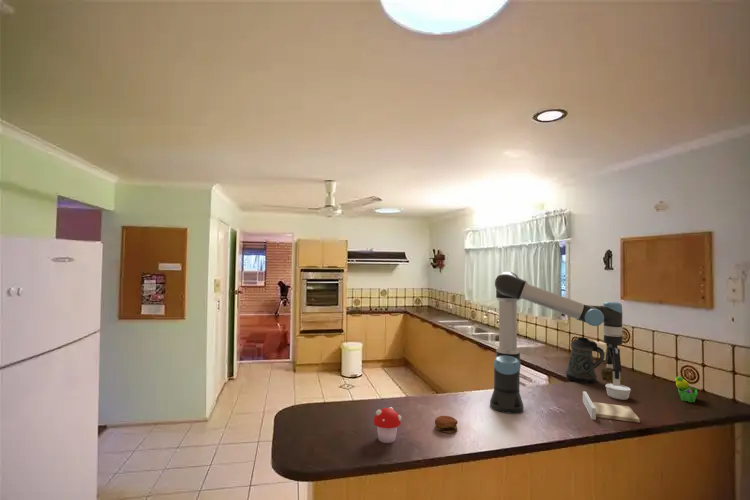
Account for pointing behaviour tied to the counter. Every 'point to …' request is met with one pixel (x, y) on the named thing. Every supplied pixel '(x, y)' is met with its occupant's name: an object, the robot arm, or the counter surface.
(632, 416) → the cutting board
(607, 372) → the potato
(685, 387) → the fruit basket
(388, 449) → the counter surface
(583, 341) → the beer stein
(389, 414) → the mushroom
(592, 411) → the divider wall
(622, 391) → the ramekin
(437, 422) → the burger
